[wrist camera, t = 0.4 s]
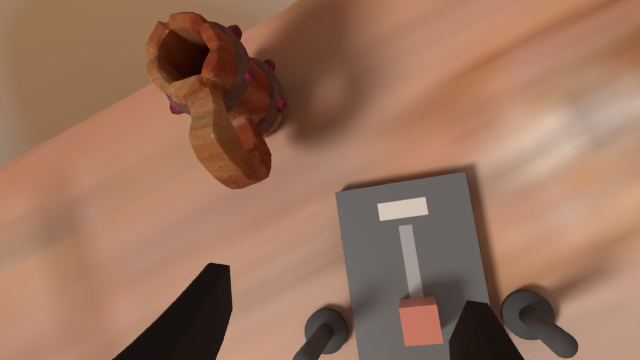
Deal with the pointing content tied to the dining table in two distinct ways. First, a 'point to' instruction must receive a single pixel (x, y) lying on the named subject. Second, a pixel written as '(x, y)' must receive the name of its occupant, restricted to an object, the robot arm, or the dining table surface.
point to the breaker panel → (409, 260)
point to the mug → (218, 95)
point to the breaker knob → (420, 321)
